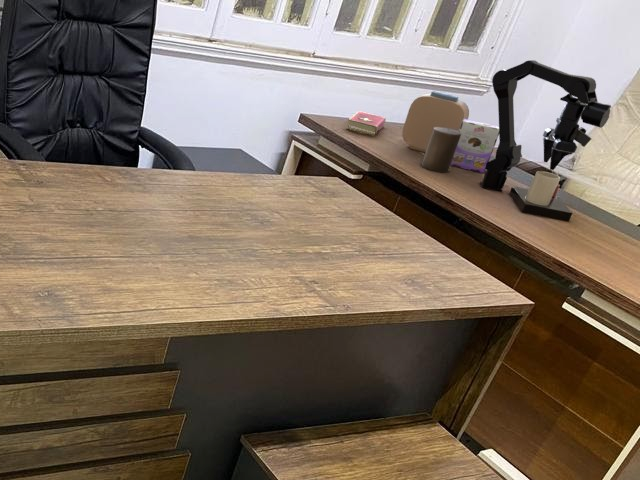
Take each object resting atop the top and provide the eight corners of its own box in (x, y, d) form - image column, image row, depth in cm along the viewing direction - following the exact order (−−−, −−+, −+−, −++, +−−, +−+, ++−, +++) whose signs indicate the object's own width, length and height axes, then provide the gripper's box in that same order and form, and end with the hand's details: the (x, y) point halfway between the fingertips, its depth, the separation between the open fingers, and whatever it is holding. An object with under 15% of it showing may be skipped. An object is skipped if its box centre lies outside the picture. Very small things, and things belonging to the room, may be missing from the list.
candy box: (485, 170, 297) (502, 126, 288) (484, 173, 292) (501, 129, 284) (447, 161, 301) (463, 117, 292) (446, 164, 296) (462, 120, 288)
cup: (528, 202, 257) (539, 175, 252) (523, 195, 263) (534, 169, 258) (551, 207, 256) (563, 180, 252) (545, 200, 262) (556, 173, 258)
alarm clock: (454, 155, 310) (475, 99, 298) (449, 159, 303) (470, 102, 291) (404, 141, 318) (422, 86, 307) (397, 145, 311) (415, 88, 299)
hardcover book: (383, 127, 335) (386, 117, 333) (374, 136, 318) (377, 125, 316) (355, 120, 339) (358, 110, 336) (345, 129, 322) (348, 118, 320)
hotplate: (521, 212, 257) (525, 203, 255) (508, 193, 274) (512, 184, 273) (570, 222, 256) (574, 213, 254) (554, 202, 273) (557, 193, 271)
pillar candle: (447, 174, 284) (463, 132, 276) (420, 168, 287) (434, 126, 279) (448, 167, 292) (463, 127, 284) (421, 161, 295) (435, 121, 286)
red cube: (556, 198, 266) (561, 185, 264) (544, 195, 267) (549, 183, 264) (553, 194, 270) (558, 182, 268) (541, 192, 270) (546, 180, 268)
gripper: (603, 130, 245) (580, 179, 253) (587, 117, 260) (566, 163, 269) (566, 123, 246) (545, 171, 254) (553, 110, 261) (533, 156, 270)
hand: (548, 165), depth 262 cm, fingers open, 9 cm apart
